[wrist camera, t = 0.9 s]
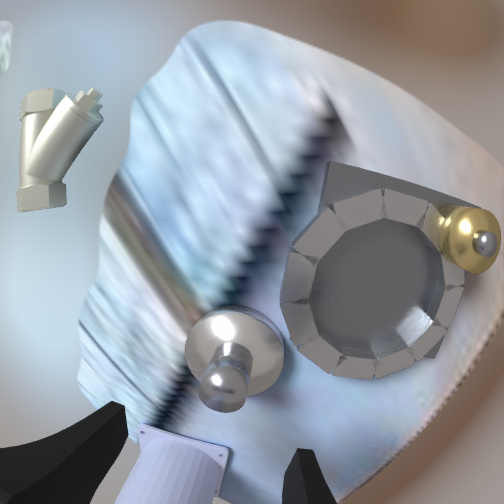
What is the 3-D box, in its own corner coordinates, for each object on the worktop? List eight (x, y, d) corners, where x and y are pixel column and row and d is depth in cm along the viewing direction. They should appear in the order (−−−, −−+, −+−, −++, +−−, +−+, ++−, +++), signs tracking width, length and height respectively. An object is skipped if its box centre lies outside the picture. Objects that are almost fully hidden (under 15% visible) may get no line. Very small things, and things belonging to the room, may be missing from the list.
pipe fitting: (116, 86, 16) (45, 107, 16) (87, 68, 12) (13, 98, 12) (113, 201, 18) (42, 208, 18) (81, 205, 14) (8, 214, 14)
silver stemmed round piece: (273, 390, 19) (268, 442, 14) (188, 371, 19) (164, 417, 14) (293, 315, 17) (295, 360, 12) (196, 294, 18) (166, 331, 13)
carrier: (421, 363, 17) (449, 406, 12) (266, 343, 18) (260, 393, 13) (471, 206, 14) (520, 214, 10) (305, 158, 15) (314, 144, 10)
